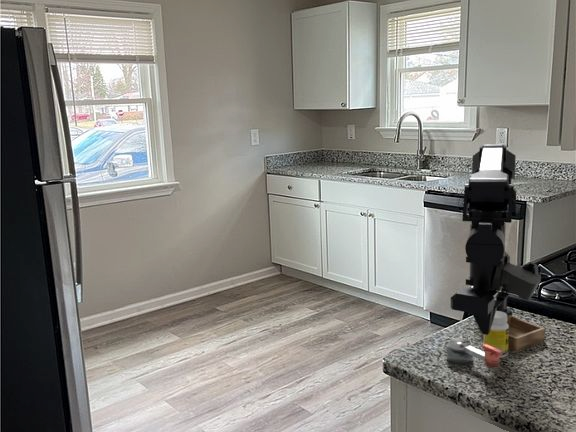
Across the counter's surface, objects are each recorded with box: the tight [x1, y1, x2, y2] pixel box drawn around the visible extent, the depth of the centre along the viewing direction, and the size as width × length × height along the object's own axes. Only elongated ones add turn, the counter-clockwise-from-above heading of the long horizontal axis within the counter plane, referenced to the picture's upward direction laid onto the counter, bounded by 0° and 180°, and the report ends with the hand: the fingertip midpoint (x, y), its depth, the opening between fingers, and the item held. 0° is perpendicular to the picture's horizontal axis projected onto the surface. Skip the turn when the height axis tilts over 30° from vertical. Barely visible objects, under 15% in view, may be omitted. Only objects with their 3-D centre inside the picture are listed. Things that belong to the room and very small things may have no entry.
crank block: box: [446, 346, 474, 366], centre depth 112 cm, size 5×5×2 cm
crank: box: [449, 337, 503, 368], centre depth 108 cm, size 12×4×3 cm, turn 29°
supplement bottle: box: [482, 311, 509, 359], centre depth 113 cm, size 5×5×8 cm
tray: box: [482, 315, 546, 353], centre depth 119 cm, size 9×9×3 cm
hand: (485, 333), depth 100 cm, fingers closed
